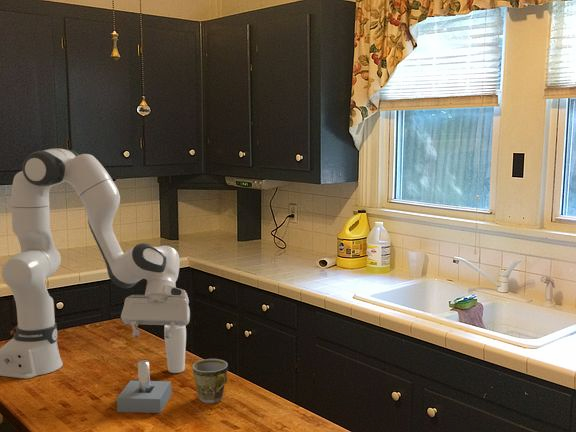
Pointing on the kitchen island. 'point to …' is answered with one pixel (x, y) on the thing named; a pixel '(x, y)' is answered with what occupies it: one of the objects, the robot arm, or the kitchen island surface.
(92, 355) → the kitchen island surface
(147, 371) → the steel pin
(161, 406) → the socket block
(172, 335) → the white tapered cylinder
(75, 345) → the kitchen island surface
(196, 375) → the ceramic cup
